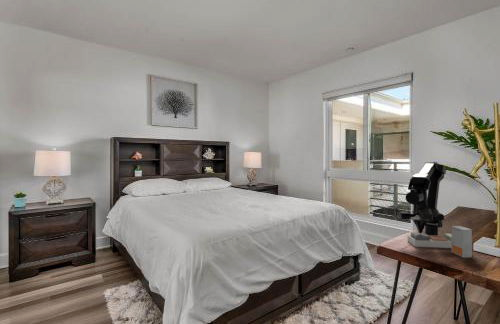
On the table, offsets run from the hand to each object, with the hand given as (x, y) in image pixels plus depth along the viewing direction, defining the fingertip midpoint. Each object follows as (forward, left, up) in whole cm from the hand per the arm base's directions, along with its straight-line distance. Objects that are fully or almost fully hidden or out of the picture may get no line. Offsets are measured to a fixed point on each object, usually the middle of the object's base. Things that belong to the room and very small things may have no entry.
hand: (420, 233), depth 126 cm
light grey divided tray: (0, +7, -5) cm, 9 cm away
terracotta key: (0, +7, -4) cm, 9 cm away
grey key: (0, 0, -3) cm, 3 cm away
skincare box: (+13, +11, -6) cm, 18 cm away
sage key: (0, +15, -3) cm, 15 cm away
